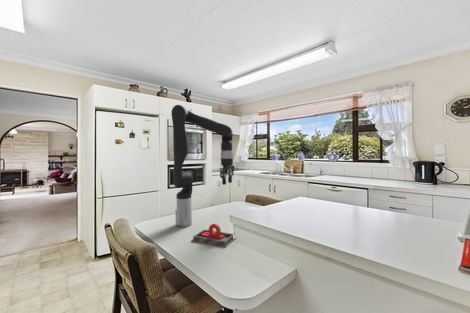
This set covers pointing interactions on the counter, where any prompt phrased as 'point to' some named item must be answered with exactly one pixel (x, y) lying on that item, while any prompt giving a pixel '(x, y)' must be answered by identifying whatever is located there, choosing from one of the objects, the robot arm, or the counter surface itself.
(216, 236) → the bracket
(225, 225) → the counter surface
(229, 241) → the plate
